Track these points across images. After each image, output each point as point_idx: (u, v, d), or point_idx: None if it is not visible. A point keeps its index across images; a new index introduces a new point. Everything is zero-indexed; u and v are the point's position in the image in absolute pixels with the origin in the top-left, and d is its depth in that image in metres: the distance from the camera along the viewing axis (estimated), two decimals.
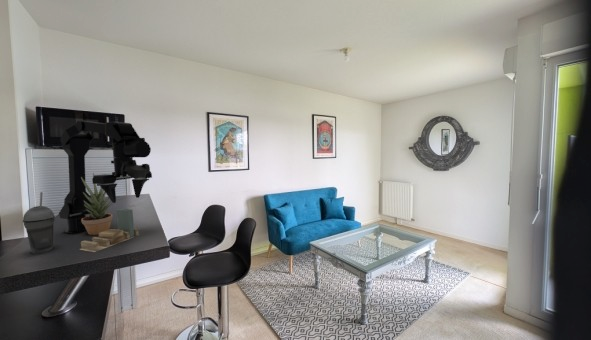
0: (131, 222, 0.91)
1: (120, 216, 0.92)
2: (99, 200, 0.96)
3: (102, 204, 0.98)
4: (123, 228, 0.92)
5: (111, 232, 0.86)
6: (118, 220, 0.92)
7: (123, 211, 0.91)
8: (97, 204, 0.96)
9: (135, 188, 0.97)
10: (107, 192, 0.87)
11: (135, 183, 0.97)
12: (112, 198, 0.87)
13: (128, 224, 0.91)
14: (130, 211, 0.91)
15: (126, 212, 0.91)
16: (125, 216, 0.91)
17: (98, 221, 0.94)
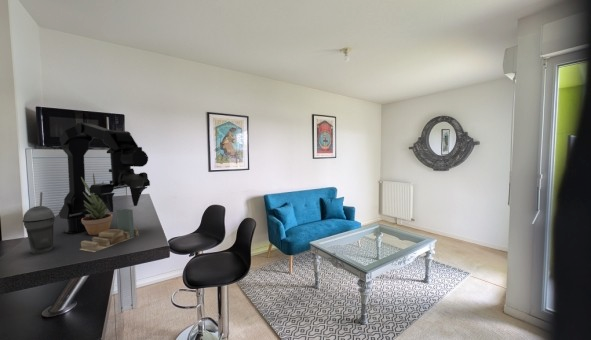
0: (131, 222, 0.91)
1: (120, 216, 0.92)
2: (99, 200, 0.96)
3: (102, 204, 0.98)
4: (123, 228, 0.92)
5: (111, 232, 0.86)
6: (118, 220, 0.92)
7: (123, 211, 0.91)
8: (97, 204, 0.96)
9: (133, 196, 0.96)
10: (104, 201, 0.86)
11: (133, 191, 0.96)
12: (109, 207, 0.87)
13: (128, 224, 0.91)
14: (130, 211, 0.91)
15: (126, 212, 0.91)
16: (125, 216, 0.91)
17: (98, 221, 0.94)
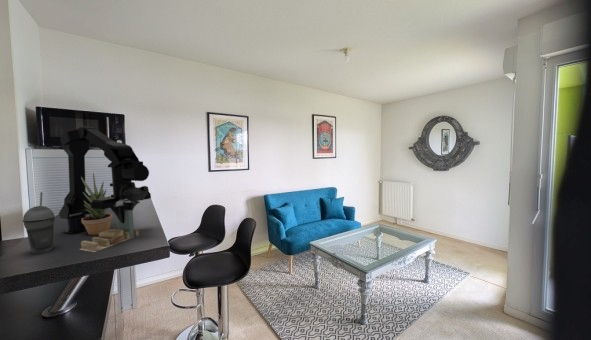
0: (131, 222, 0.91)
1: None
2: None
3: None
4: (123, 228, 0.92)
5: (111, 232, 0.86)
6: (118, 220, 0.92)
7: None
8: None
9: None
10: (116, 213, 0.90)
11: (125, 206, 0.93)
12: (121, 219, 0.90)
13: (128, 224, 0.91)
14: (130, 211, 0.91)
15: (126, 212, 0.91)
16: (125, 216, 0.91)
17: (98, 221, 0.94)
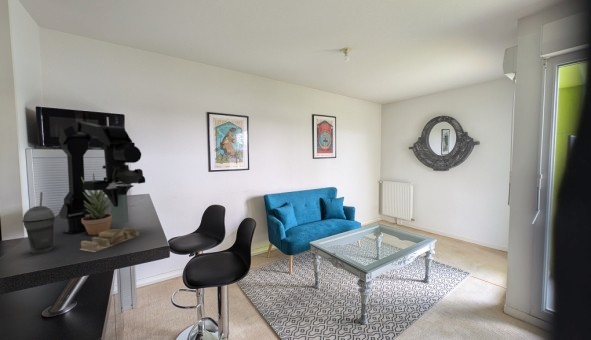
0: (126, 207, 0.89)
1: None
2: (99, 200, 0.96)
3: (102, 204, 0.98)
4: (117, 214, 0.89)
5: (111, 232, 0.86)
6: (112, 205, 0.90)
7: (117, 196, 0.88)
8: (97, 204, 0.96)
9: None
10: (109, 196, 0.88)
11: (118, 190, 0.91)
12: (114, 202, 0.88)
13: (122, 209, 0.88)
14: (124, 196, 0.88)
15: (120, 197, 0.88)
16: (119, 201, 0.88)
17: (98, 221, 0.94)
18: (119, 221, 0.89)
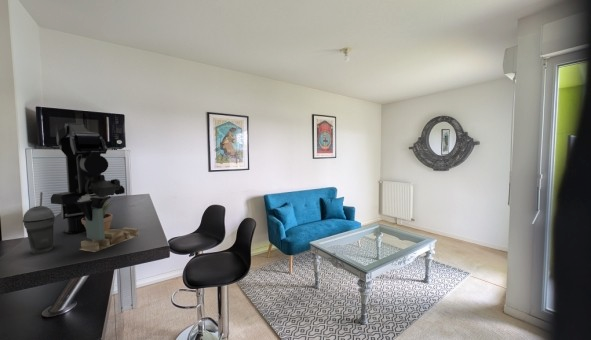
0: (101, 222, 0.81)
1: None
2: None
3: None
4: (92, 229, 0.81)
5: (111, 232, 0.86)
6: (87, 220, 0.82)
7: (92, 210, 0.81)
8: None
9: None
10: (82, 209, 0.80)
11: (94, 202, 0.83)
12: (88, 216, 0.80)
13: (97, 224, 0.80)
14: (100, 210, 0.80)
15: (95, 211, 0.80)
16: (94, 216, 0.80)
17: None
18: (94, 237, 0.81)
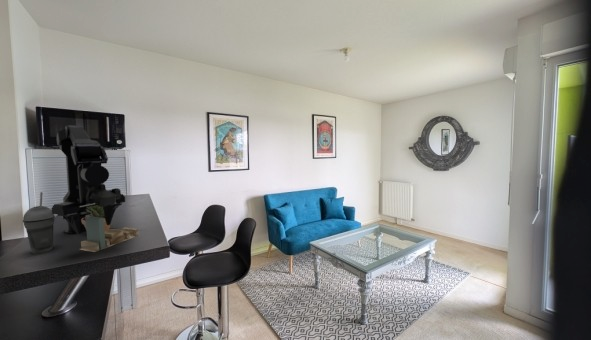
0: (102, 232, 0.81)
1: (89, 225, 0.81)
2: None
3: None
4: (93, 239, 0.82)
5: (111, 232, 0.86)
6: (87, 229, 0.82)
7: (93, 219, 0.81)
8: None
9: (106, 214, 0.86)
10: (70, 222, 0.76)
11: (106, 209, 0.87)
12: (76, 229, 0.77)
13: (98, 234, 0.81)
14: (100, 219, 0.81)
15: (96, 220, 0.80)
16: (95, 225, 0.81)
17: None
18: None
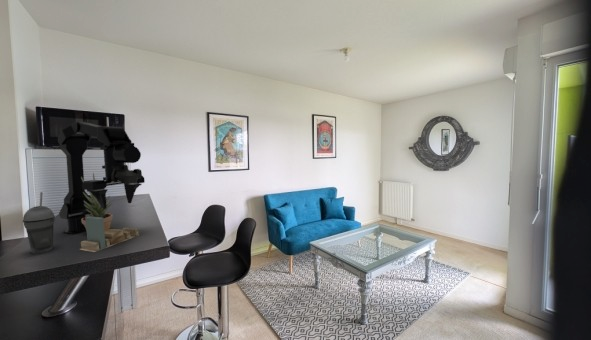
0: (102, 232, 0.81)
1: (89, 225, 0.81)
2: None
3: None
4: (93, 239, 0.82)
5: (111, 232, 0.86)
6: (87, 229, 0.82)
7: (93, 219, 0.81)
8: (97, 204, 0.96)
9: (127, 193, 0.95)
10: (97, 198, 0.85)
11: (127, 188, 0.95)
12: (102, 204, 0.85)
13: (98, 234, 0.81)
14: (100, 219, 0.81)
15: (96, 220, 0.80)
16: (95, 225, 0.81)
17: None
18: None
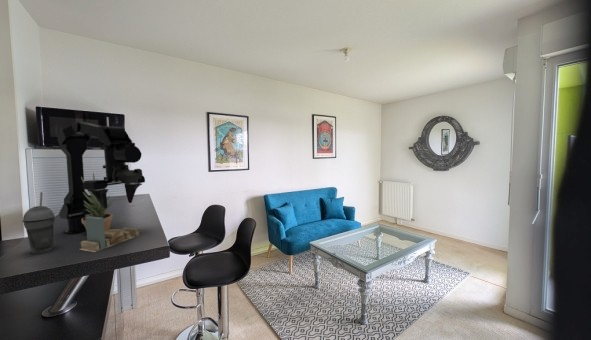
0: (102, 232, 0.81)
1: (89, 225, 0.81)
2: None
3: None
4: (93, 239, 0.82)
5: (111, 232, 0.86)
6: (87, 229, 0.82)
7: (93, 219, 0.81)
8: (97, 204, 0.96)
9: (128, 193, 0.95)
10: (98, 198, 0.85)
11: (128, 188, 0.95)
12: (103, 204, 0.85)
13: (98, 234, 0.81)
14: (100, 219, 0.81)
15: (96, 220, 0.80)
16: (95, 225, 0.81)
17: None
18: None
